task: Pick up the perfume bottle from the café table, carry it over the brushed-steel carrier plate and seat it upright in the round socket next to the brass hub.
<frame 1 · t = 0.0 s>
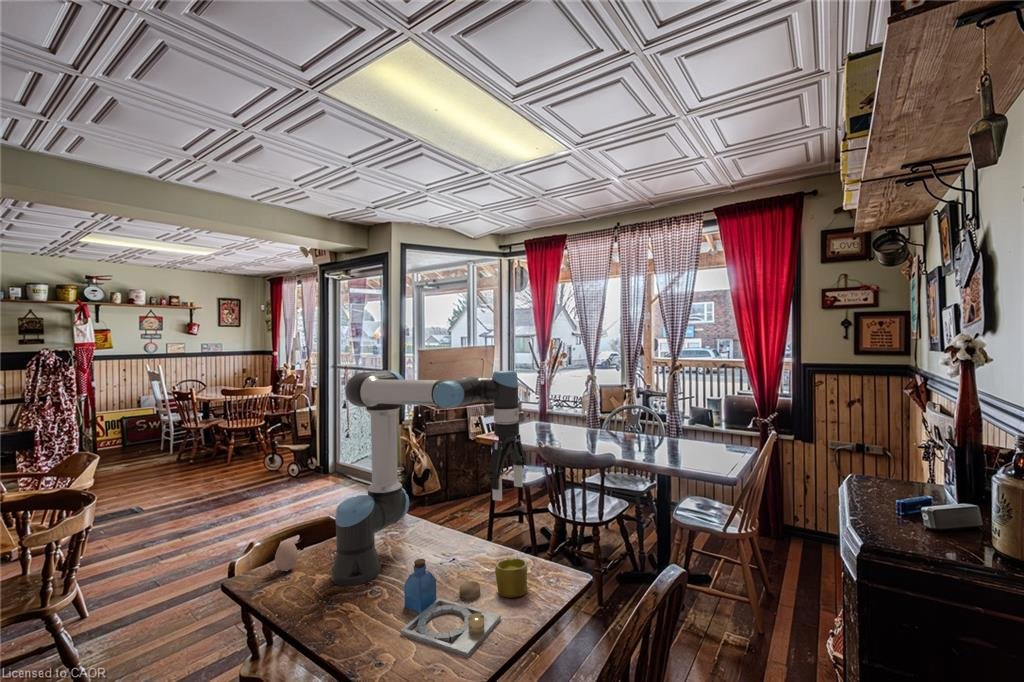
hand: (508, 493, 133), 28 cm above the table, fingers open, 13 cm apart
egg: (286, 571, 146), on the table
mug: (512, 589, 132), on the table
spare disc: (469, 595, 129), on the table
perfume bottle: (420, 605, 125), on the table
carrier plate: (451, 627, 114), on the table
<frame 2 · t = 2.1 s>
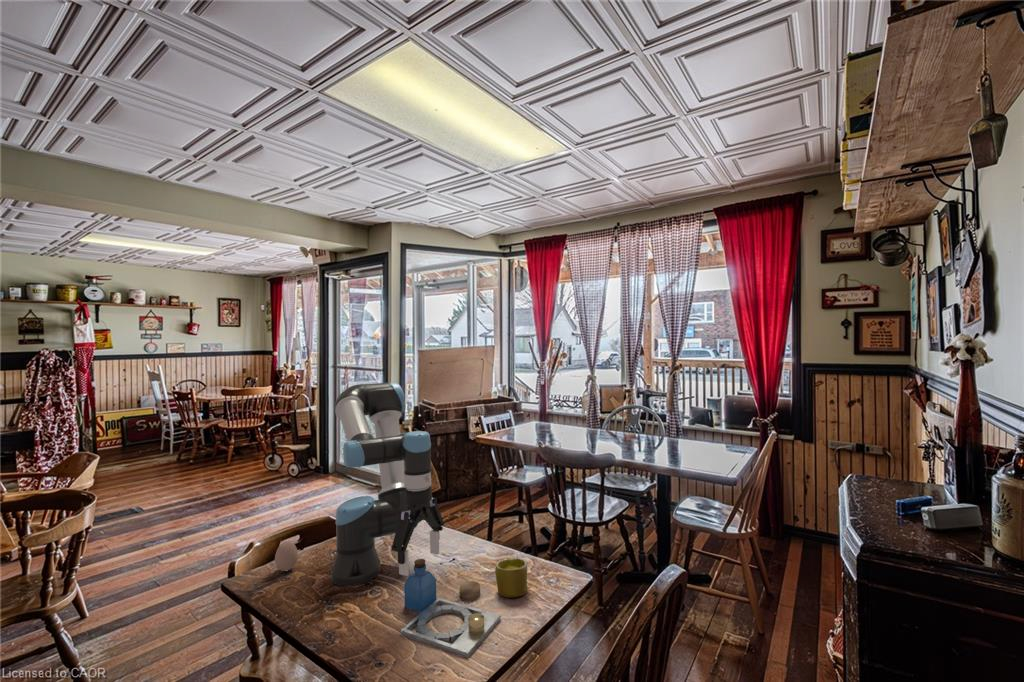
hand: (420, 563, 125), 11 cm above the table, fingers open, 13 cm apart
nothing on the table moved.
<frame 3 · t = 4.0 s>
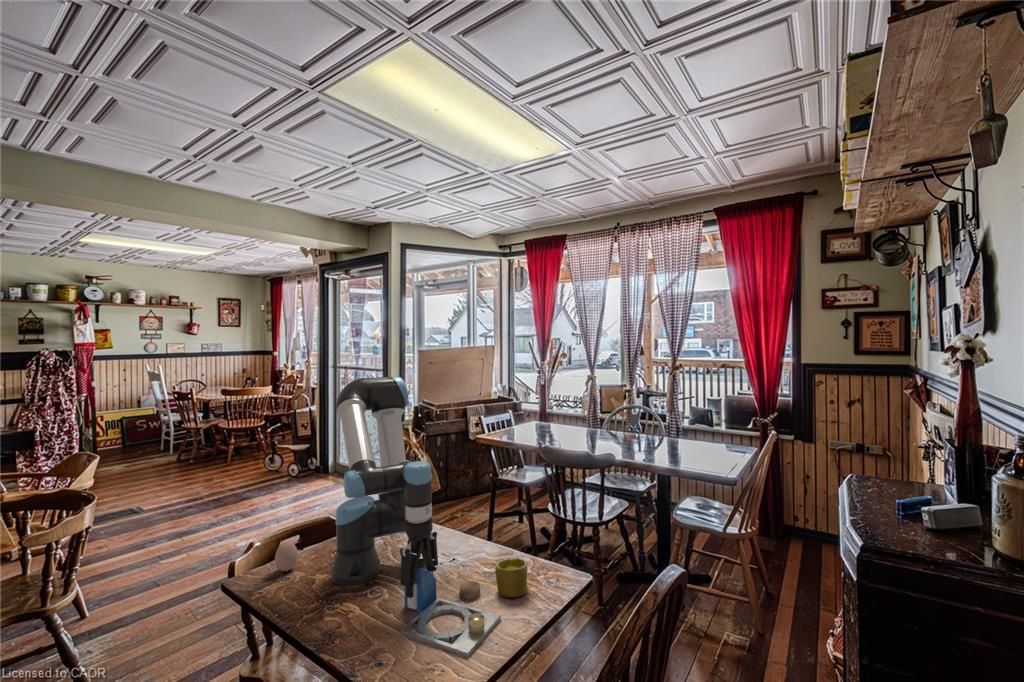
hand: (420, 600, 125), 1 cm above the table, fingers closed on perfume bottle, 6 cm apart
perfume bottle: (420, 604, 125), on the table, touching gripper
everything else where it was.
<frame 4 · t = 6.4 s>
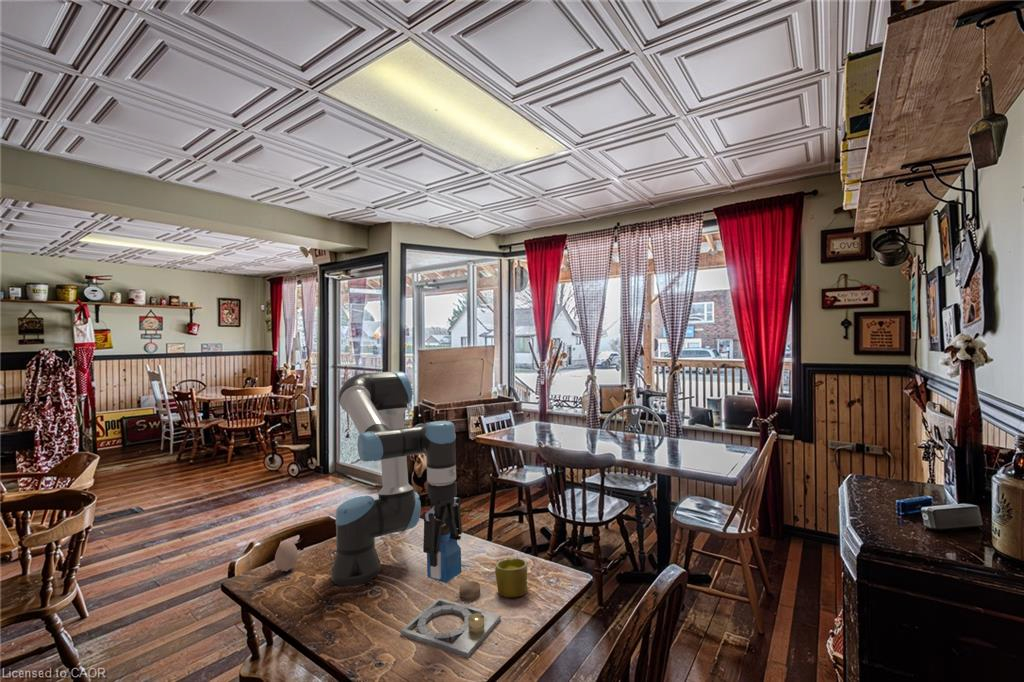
hand: (444, 570, 115), 14 cm above the table, fingers closed on perfume bottle, 6 cm apart
perfume bottle: (444, 575, 115), point 13 cm above the table, touching gripper
everything else where it was.
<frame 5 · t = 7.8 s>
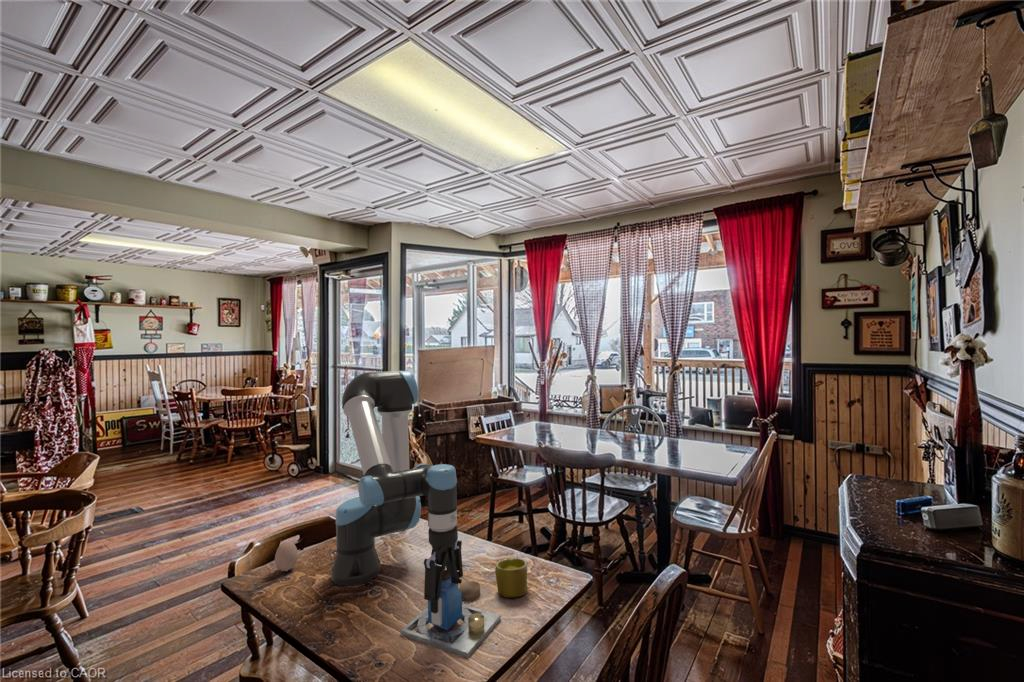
hand: (445, 615, 115), 2 cm above the table, fingers closed on perfume bottle, 6 cm apart
perfume bottle: (445, 620, 115), point 1 cm above the table, touching gripper
everything else where it was.
when the fingers open (2 cm above the table, at t = 8.9 s): perfume bottle stays where it is, resting in carrier plate.
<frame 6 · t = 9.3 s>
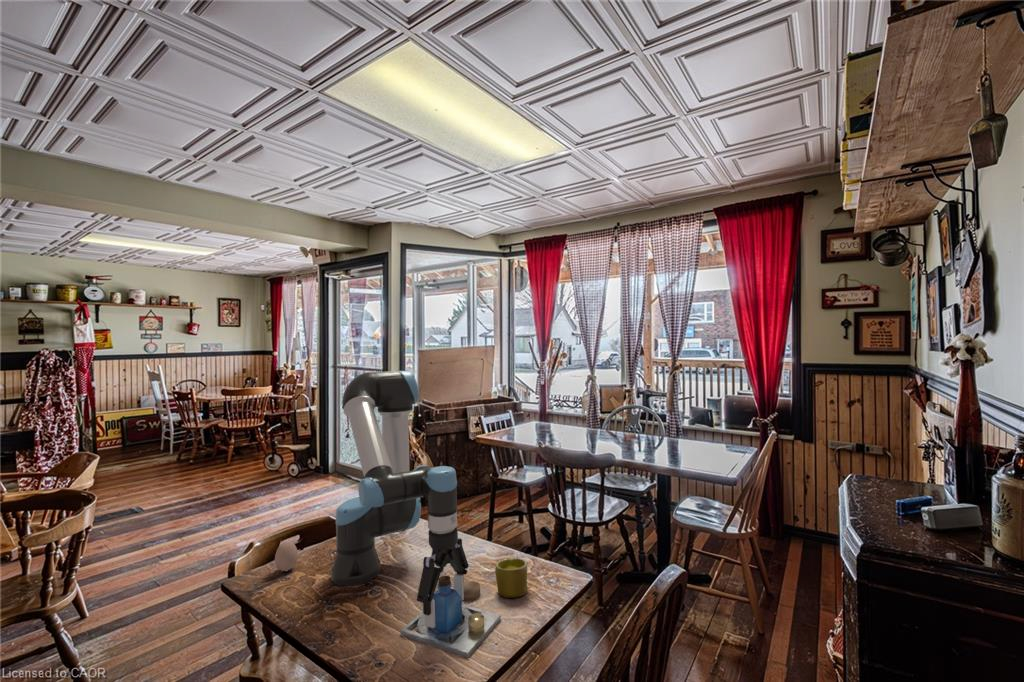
hand: (445, 611, 115), 3 cm above the table, fingers open, 12 cm apart
perfume bottle: (445, 626, 115), resting in carrier plate
everything else where it was.
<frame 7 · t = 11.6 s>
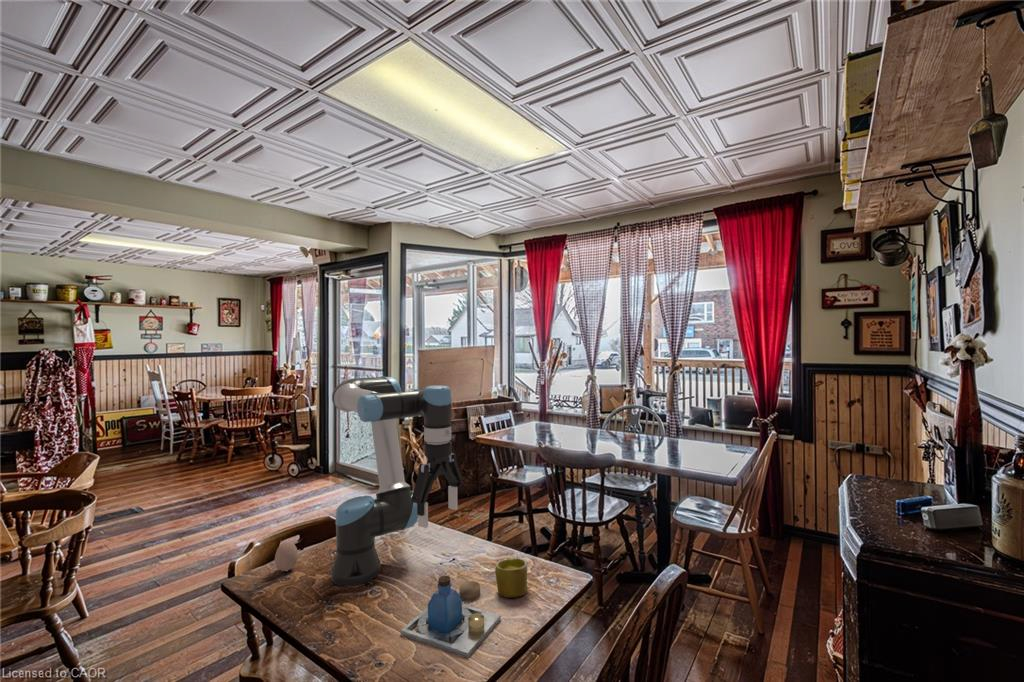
hand: (438, 517, 124), 25 cm above the table, fingers open, 13 cm apart
nothing on the table moved.
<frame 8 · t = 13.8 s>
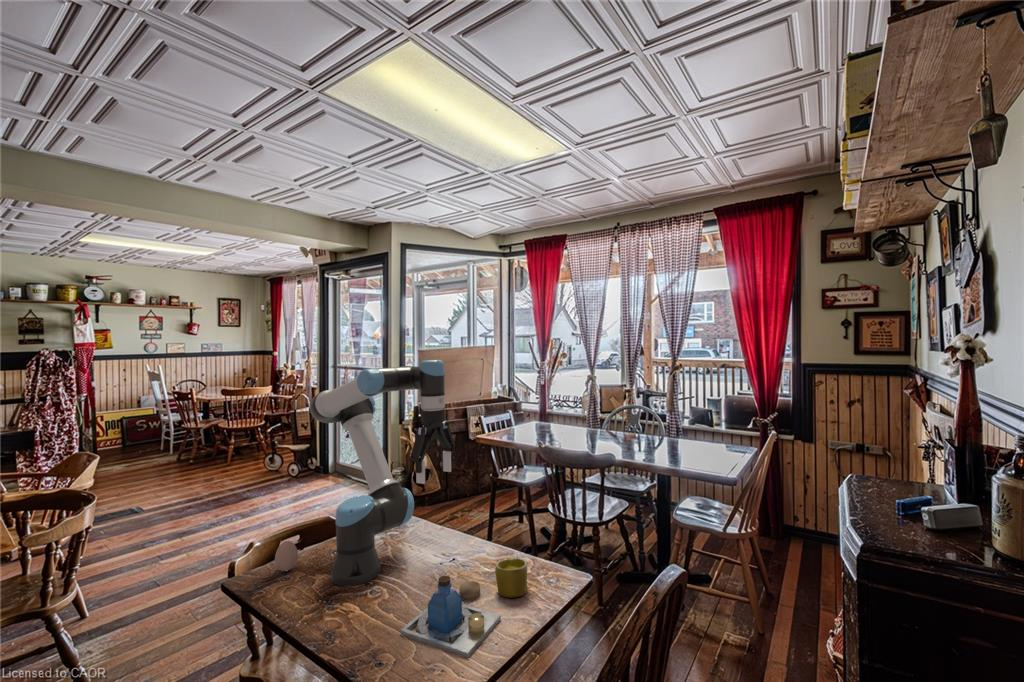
hand: (434, 477, 139), 32 cm above the table, fingers open, 13 cm apart
nothing on the table moved.
at the end: perfume bottle 0.0 cm from the target spot on the carrier plate, point 0.0 cm above the carrier plate's base; perfume bottle tilted 0°; the gripper is holding nothing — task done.
